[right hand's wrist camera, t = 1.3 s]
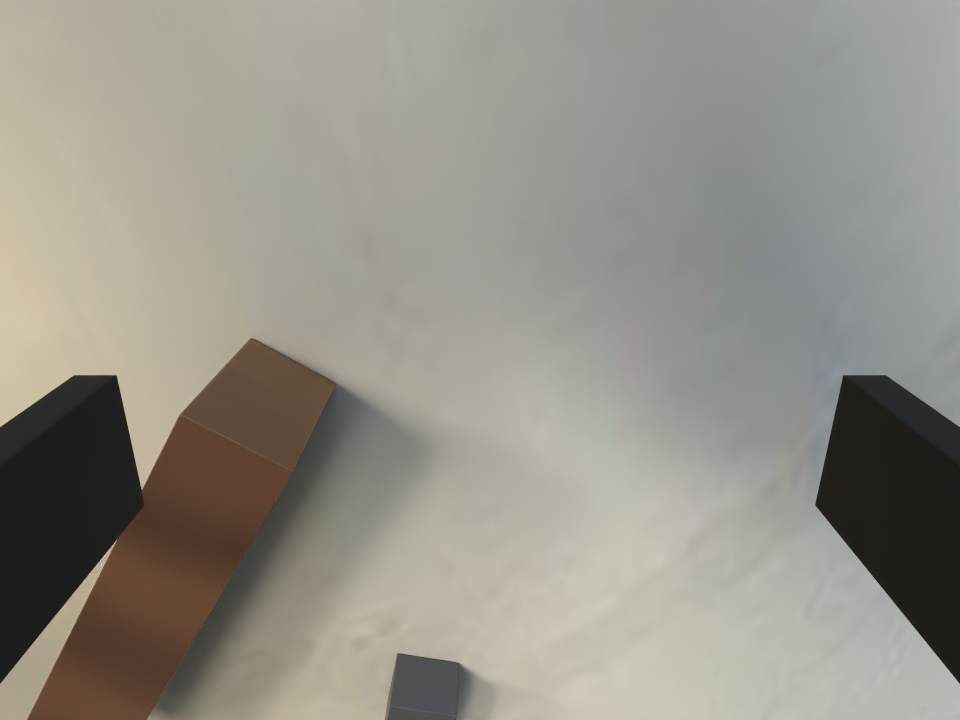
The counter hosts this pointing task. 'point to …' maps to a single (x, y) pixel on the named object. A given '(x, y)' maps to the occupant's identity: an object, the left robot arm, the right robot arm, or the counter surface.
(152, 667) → the bar
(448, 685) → the slate block
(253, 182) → the counter surface
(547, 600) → the counter surface
